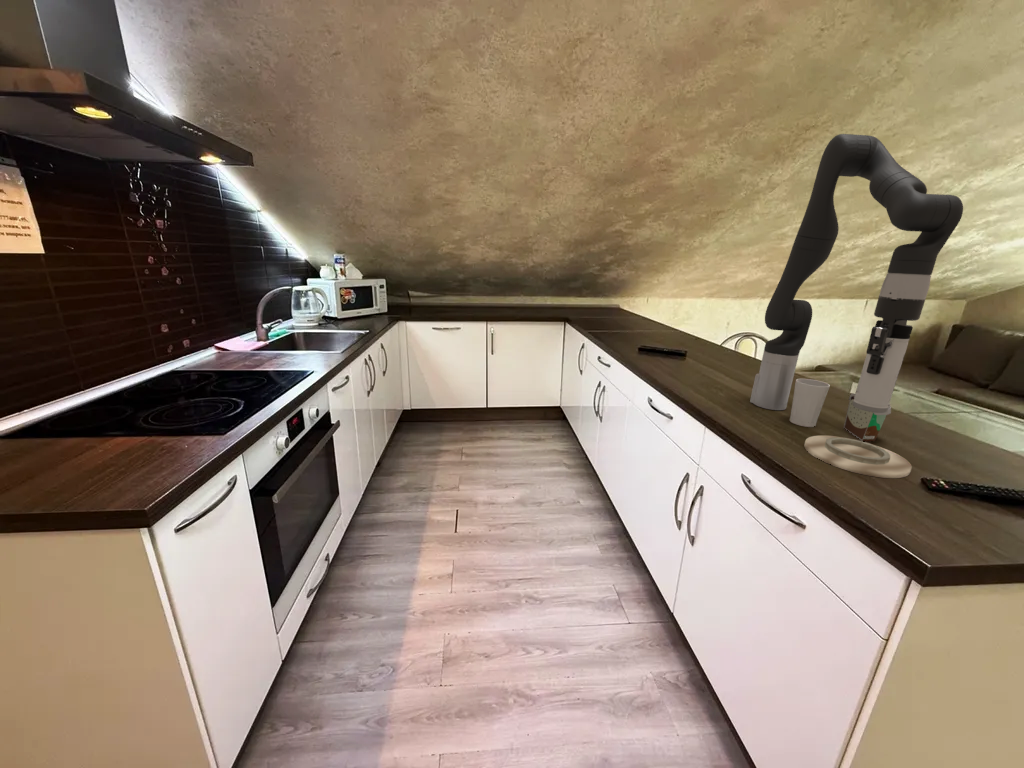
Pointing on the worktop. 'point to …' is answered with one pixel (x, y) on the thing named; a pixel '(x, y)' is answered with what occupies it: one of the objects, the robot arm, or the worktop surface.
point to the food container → (864, 421)
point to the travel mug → (882, 374)
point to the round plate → (858, 456)
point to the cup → (808, 401)
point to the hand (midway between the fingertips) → (879, 371)
